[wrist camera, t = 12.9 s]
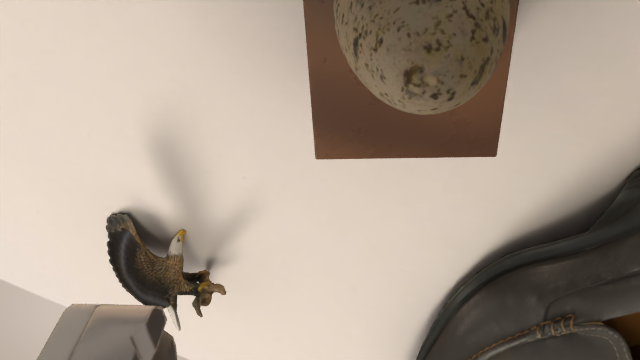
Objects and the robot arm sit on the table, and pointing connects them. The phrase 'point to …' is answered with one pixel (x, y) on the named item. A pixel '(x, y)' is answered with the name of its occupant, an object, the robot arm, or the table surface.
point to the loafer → (553, 298)
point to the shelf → (384, 120)
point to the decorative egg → (422, 48)
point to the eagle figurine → (155, 270)
